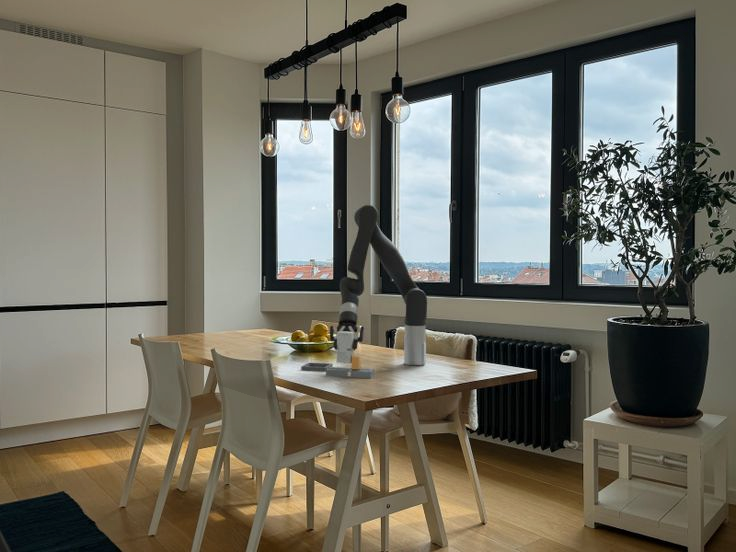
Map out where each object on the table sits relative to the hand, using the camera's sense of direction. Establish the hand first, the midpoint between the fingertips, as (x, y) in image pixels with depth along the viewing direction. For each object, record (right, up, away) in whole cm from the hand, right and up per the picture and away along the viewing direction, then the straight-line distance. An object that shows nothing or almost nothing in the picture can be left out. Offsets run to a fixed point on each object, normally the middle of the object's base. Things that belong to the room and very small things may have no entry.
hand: (345, 348), depth 255 cm
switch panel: (+2, -11, +1) cm, 11 cm away
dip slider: (+4, -8, +1) cm, 9 cm away
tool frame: (-12, -10, +16) cm, 23 cm away
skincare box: (0, -6, +2) cm, 6 cm away
